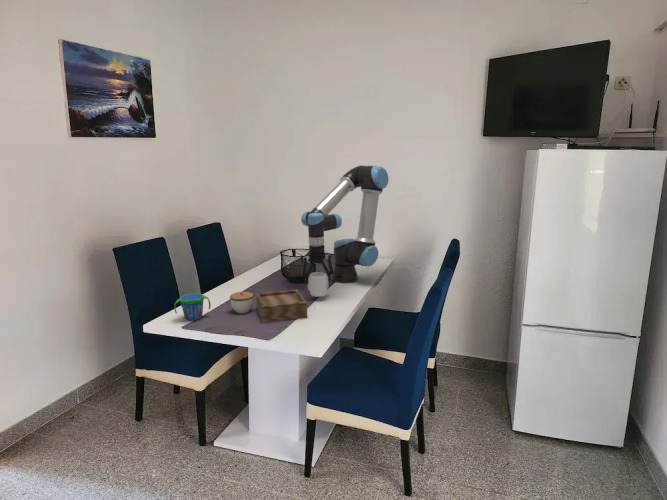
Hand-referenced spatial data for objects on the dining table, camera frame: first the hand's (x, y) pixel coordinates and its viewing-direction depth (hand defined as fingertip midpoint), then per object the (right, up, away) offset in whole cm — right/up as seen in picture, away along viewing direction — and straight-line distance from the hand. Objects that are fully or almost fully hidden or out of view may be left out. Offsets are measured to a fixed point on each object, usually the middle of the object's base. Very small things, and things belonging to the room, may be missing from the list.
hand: (318, 288), depth 241 cm
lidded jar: (-35, -9, -16) cm, 39 cm away
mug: (+1, -2, +1) cm, 3 cm away
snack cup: (-55, -11, -24) cm, 61 cm away
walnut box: (-16, -9, -19) cm, 27 cm away
